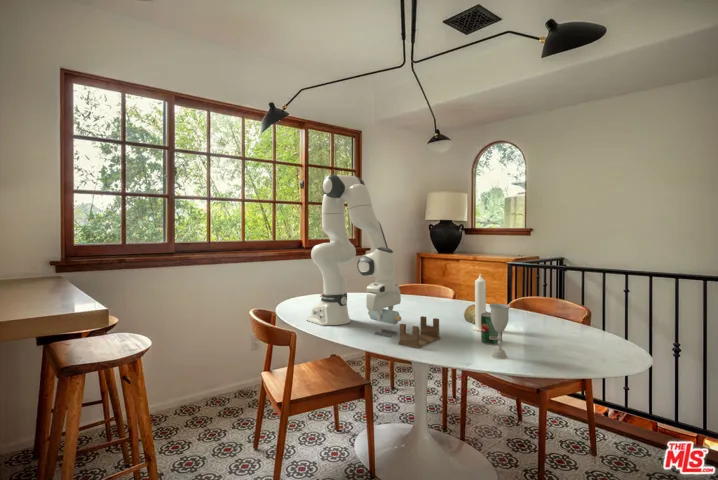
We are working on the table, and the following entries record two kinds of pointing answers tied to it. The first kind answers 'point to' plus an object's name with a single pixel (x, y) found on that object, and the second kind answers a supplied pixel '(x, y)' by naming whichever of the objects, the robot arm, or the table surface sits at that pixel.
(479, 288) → the candle
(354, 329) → the table surface
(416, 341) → the roll holder
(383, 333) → the rest strips
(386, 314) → the paper roll
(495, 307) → the chalice
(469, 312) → the pastry
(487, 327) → the canned tomato
